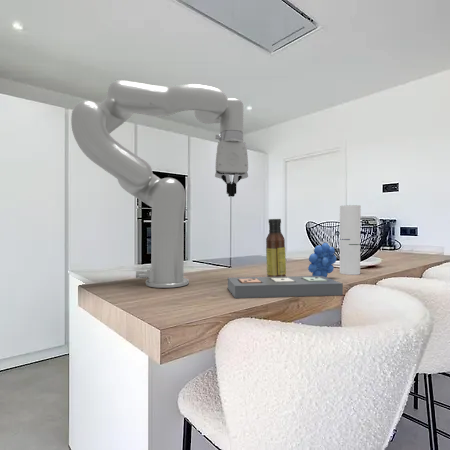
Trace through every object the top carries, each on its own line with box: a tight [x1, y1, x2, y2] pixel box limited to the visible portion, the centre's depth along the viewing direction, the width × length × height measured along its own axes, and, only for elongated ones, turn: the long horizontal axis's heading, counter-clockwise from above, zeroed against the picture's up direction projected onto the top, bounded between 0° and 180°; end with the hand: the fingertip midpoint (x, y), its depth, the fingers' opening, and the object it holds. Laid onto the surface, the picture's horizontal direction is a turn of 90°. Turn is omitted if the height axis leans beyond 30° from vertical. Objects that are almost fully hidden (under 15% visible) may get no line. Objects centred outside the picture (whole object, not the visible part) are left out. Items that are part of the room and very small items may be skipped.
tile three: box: [239, 278, 261, 283], centre depth 84 cm, size 5×5×3 cm
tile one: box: [271, 278, 295, 283], centre depth 86 cm, size 5×5×3 cm
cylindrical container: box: [339, 204, 362, 276], centre depth 118 cm, size 7×7×25 cm
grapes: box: [307, 242, 337, 278], centre depth 106 cm, size 12×7×12 cm, turn 117°
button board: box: [227, 275, 344, 299], centre depth 86 cm, size 28×12×3 cm, turn 98°
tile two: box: [302, 277, 327, 282], centre depth 87 cm, size 5×5×3 cm
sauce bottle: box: [265, 218, 287, 277], centre depth 105 cm, size 6×6×20 cm
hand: (231, 196), depth 103 cm, fingers closed
